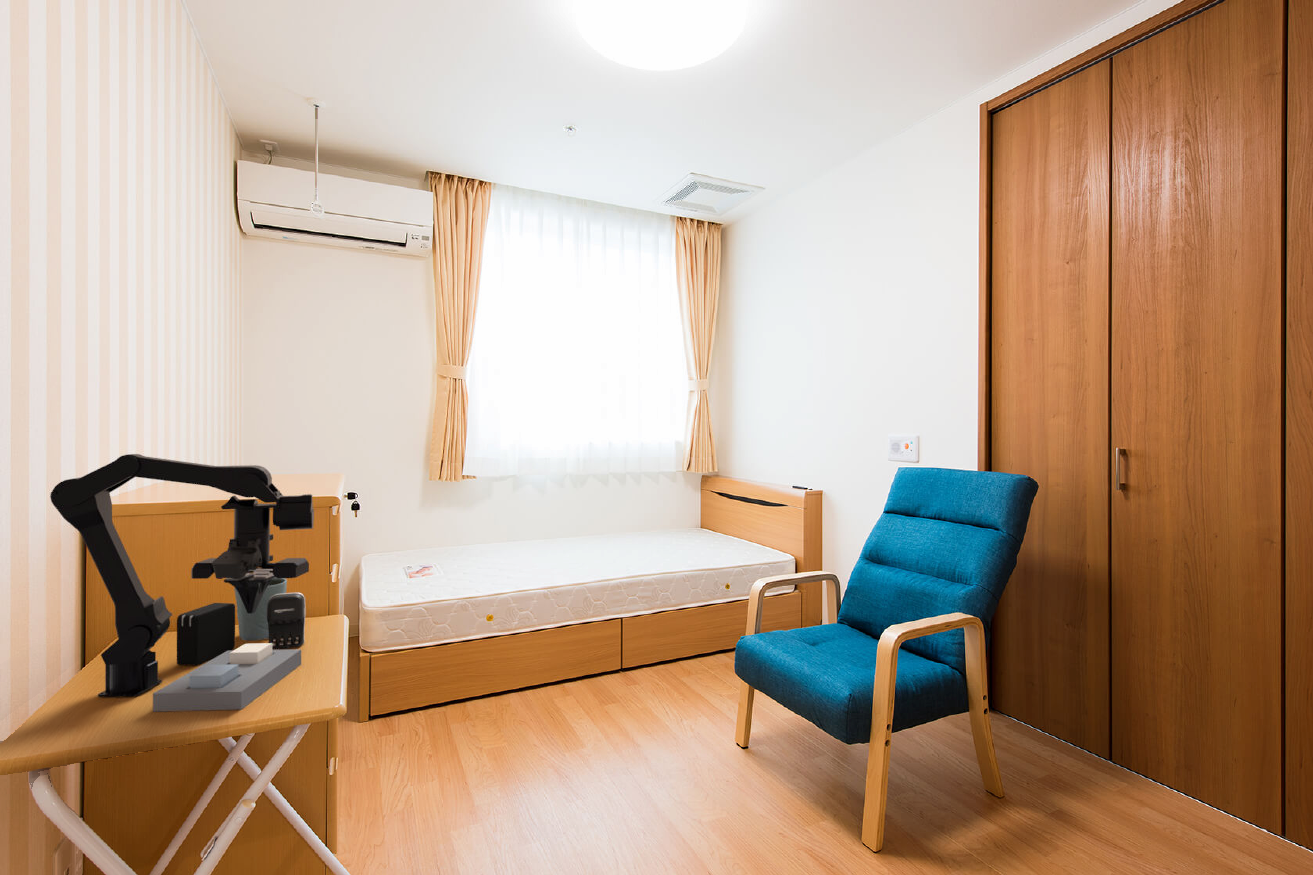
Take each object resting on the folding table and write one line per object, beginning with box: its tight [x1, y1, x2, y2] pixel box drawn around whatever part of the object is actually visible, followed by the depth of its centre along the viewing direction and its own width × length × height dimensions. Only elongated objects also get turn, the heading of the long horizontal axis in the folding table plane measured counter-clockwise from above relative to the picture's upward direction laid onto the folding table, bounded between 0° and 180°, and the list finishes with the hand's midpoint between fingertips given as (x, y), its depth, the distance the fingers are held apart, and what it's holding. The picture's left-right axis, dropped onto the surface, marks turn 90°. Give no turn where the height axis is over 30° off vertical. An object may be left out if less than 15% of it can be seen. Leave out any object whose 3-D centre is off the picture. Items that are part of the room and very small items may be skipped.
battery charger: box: [267, 592, 306, 650], centre depth 132 cm, size 7×4×11 cm, turn 111°
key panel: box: [152, 648, 302, 712], centre depth 112 cm, size 14×20×3 cm
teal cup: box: [233, 577, 288, 642], centre depth 140 cm, size 10×10×12 cm
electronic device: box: [176, 602, 236, 666], centre depth 126 cm, size 4×10×10 cm, turn 174°
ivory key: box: [230, 642, 273, 664], centre depth 117 cm, size 5×5×2 cm
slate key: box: [190, 664, 239, 689], centre depth 106 cm, size 5×5×2 cm
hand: (251, 612), depth 117 cm, fingers closed
